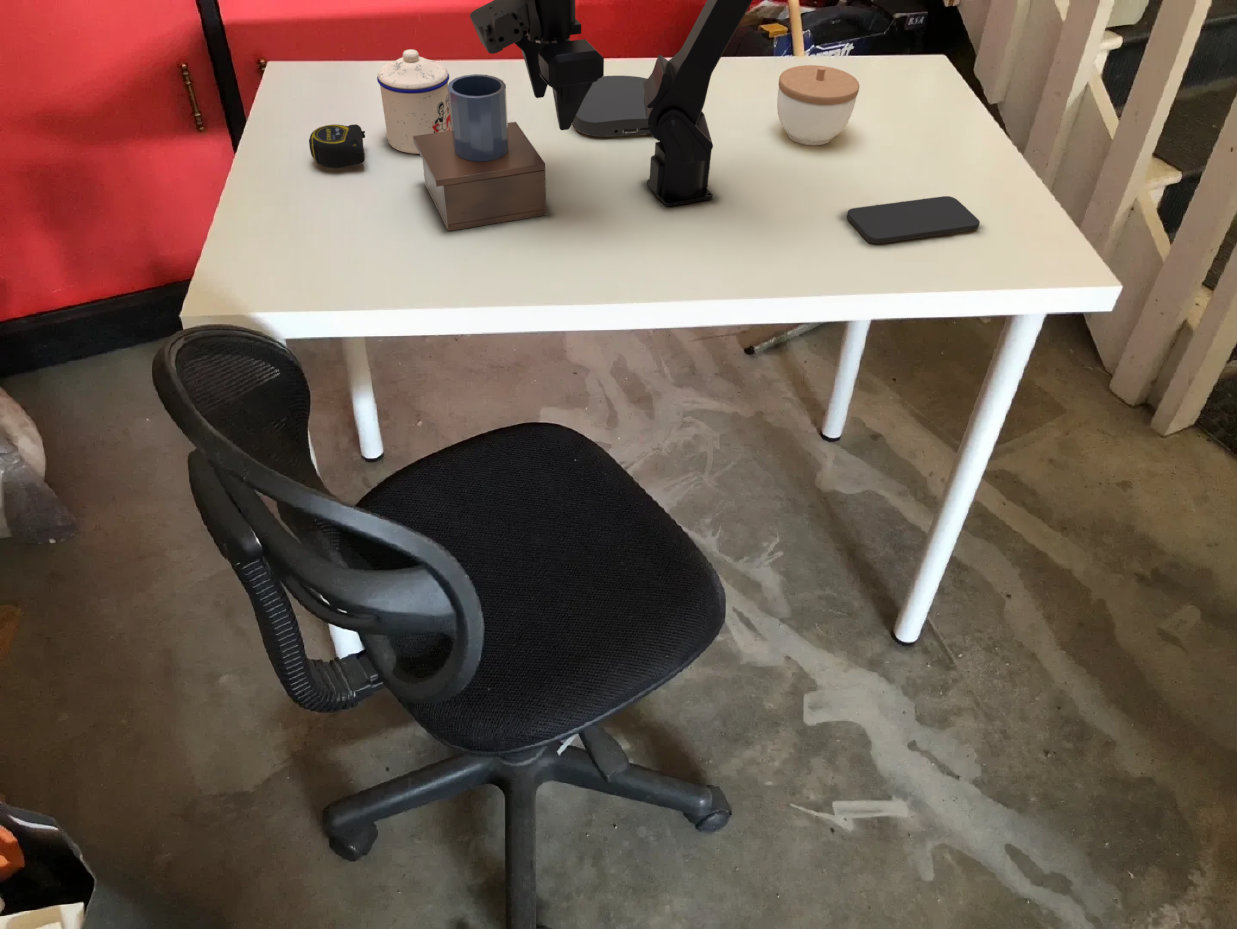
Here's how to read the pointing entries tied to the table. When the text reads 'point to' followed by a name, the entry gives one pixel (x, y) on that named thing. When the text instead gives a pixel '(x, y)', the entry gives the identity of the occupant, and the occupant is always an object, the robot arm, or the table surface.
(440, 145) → the box lid
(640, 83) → the media streaming box
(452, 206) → the box
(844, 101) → the trinket box
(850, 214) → the phone
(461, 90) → the cup
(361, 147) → the tape measure
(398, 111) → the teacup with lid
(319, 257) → the table surface
